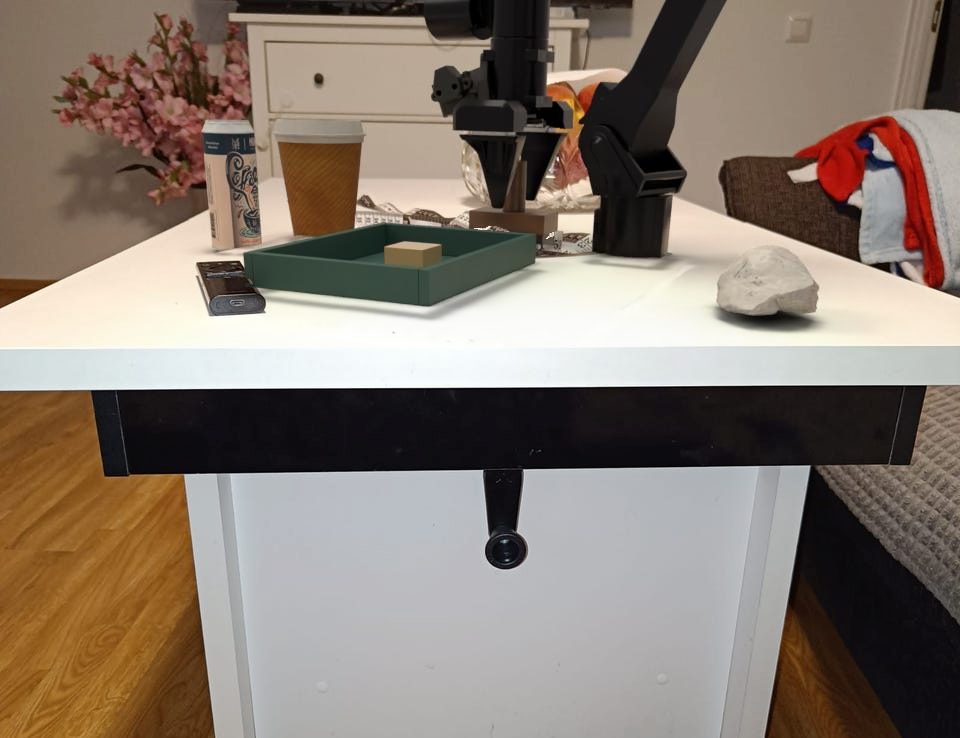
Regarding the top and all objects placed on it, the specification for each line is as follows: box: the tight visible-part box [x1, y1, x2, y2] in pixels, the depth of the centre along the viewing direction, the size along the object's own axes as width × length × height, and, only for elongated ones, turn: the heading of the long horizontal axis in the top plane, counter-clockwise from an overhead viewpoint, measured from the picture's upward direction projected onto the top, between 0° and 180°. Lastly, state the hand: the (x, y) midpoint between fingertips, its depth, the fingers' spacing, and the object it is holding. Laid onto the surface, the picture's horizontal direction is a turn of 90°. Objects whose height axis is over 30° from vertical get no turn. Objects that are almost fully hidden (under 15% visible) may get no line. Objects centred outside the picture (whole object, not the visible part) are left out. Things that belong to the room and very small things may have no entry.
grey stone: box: [716, 244, 820, 317], centre depth 67 cm, size 9×8×5 cm
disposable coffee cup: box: [271, 118, 367, 238], centre depth 97 cm, size 10×10×12 cm
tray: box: [242, 221, 537, 308], centre depth 77 cm, size 16×22×3 cm
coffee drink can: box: [201, 119, 263, 253], centre depth 89 cm, size 5×5×12 cm
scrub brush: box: [468, 159, 559, 246], centre depth 97 cm, size 8×4×8 cm, turn 67°
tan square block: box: [384, 241, 442, 268], centre depth 78 cm, size 4×4×2 cm
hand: (514, 204), depth 97 cm, fingers open, 9 cm apart
